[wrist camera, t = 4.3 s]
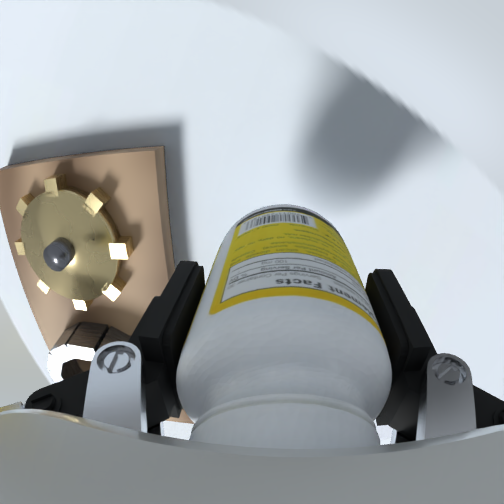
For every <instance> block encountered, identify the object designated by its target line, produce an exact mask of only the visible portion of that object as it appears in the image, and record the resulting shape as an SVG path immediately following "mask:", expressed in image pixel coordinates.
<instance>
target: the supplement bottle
mask: <svg viewBox="0 0 504 504" xmlns="http://www.w3.org/2000/svg"><path fill="white" fill-rule="evenodd" d="M391 383H392V369H391V362H390V358H389V354H388V351H387V347H386V344H385V341H384V338H383V335H382V333H381V330H380V327H379V325H378V322H377V319H376V317H375V314H374V311H373V309H372V306H371V304H370V301H369V299H368V296H367V294H366V291H365V289H364V286H363V284H362V281H361V279H360V276H359V274H358V272H357V269H356V267H355V265H354V262H353V260H352V258H351V255H350V253H349V251H348V249H347V247H346V245H345V243H344V241H343V239H342V237H341V235H340V234H339V232H338V231H337V230H336V228H335V227H334V226H333V225H332V224H331V223H330V222H329V221H328V220H326V219H325V218H324V217H322V216H321V215H319V214H318V213H316V212H314V211H312V210H310V209H307V208H304V207H300V206H295V205H287V204H284V205H271V206H267V207H263V208H260V209H257V210H255V211H252V212H251V213H249V214H247V215H245V216H244V217H242V218H241V219H240V220H239V221H237V222H236V223H235V224H234V225H233V227H232V228H231V229H230V230H229V231H228V233H227V234H226V236H225V238H224V240H223V242H222V244H221V246H220V248H219V250H218V253H217V255H216V258H215V261H214V263H213V266H212V269H211V271H210V274H209V277H208V280H207V282H206V285H205V288H204V290H203V293H202V296H201V299H200V302H199V304H198V307H197V310H196V313H195V315H194V318H193V321H192V324H191V326H190V329H189V332H188V334H187V337H186V340H185V343H184V345H183V348H182V351H181V355H180V359H179V363H178V367H177V373H176V387H177V393H178V396H179V399H180V402H181V405H182V407H183V409H184V410H185V412H186V414H187V415H188V416H189V418H190V419H191V420H192V421H193V422H194V426H193V428H192V432H191V436H190V439H189V440H190V441H197V442H205V443H213V444H222V445H232V446H243V447H257V448H278V449H331V448H351V447H366V446H377V445H380V438H379V436H378V433H377V431H376V427H375V424H374V422H373V421H374V420H375V419H376V417H377V416H378V415H379V414H380V412H381V410H382V409H383V407H384V405H385V403H386V401H387V398H388V396H389V393H390V389H391Z"/></svg>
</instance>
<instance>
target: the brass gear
mask: <svg viewBox="0 0 504 504" xmlns="http://www.w3.org/2000/svg"><path fill="white" fill-rule="evenodd" d="M44 185H45V191H46V192H44V193H42V194H40V195H39V196H37V197H34V196H33V195H32V194H31V193H29V194H27V195H25V196H23V197H21V198H20V200H19V202H18V204H17V207H16V210H17V211H18V212H19V213H20V214H21V215H22V216H23V218H22V223H21V238H20V239H18V240H17V241H16V242H15V245H16V249H17V252H18V255H26V257H27V260H28V262H29V264H30V266H31V267H32V269H33V270H34V272H35V273H36V275H37V276H38V277H39V278H40V280H39V282H38V284H37V286H38V287H39V288H40V289H41V290H42V291H43V292H45V293H46V294H47V293H48V292H49V291H50V290H51V289H52V290H53V291H54V292H56V293H58V294H60V295H61V296H64V297H66V298H69V299H72V300H73V303H74V306H75V309H80V310H87V309H88V308H89V307H90V305H91V304H92V302H93V299H95V298H97V297H99V296H101V295H102V294H105V295H107V296H108V297H109V298H110V299H111V300H113V301H114V300H115V299H116V298H117V296H118V295H119V294H120V293H121V291H122V290H123V288H124V287H125V285H126V284H127V283H125V282H124V281H123V280H122V279H121V278H119V277H118V273H119V271H120V269H121V265H122V259H128V258H129V257H130V256H131V254H132V253H133V252H134V246H133V240H132V236H120V234H119V231H118V228H117V226H116V224H115V222H114V220H113V218H112V217H111V215H110V214H109V212H108V211H107V210H106V208H105V206H106V204H107V203H108V202H109V200H110V199H111V197H110V196H109V195H108V194H107V193H106V192H105V191H104V190H103V189H102V188H101V187H99V188H97V189H95V190H94V191H92V192H91V193H90V194H89V193H87V192H85V191H83V190H81V189H78V188H75V187H70V186H67V181H66V174H56V175H52V176H50V177H48V178H46V179H44Z"/></svg>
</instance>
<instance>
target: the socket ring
mask: <svg viewBox="0 0 504 504" xmlns="http://www.w3.org/2000/svg"><path fill="white" fill-rule="evenodd" d="M130 337H131V336H130V335H128V334H126V333H124V332H122V331H120V330H118V329H117V328H115V327H113V326H111V327H110V329H109V327H108V324H100V323H92V322H85V321H82V323H81V322H78V323H76V324H74V325H73V326H71V327H69V328H67V329H65V330H64V332H63V333H62V334H61V336H60V337H59V339H58V340H57V342H56V343H55V345H54V346H53V348H52V349H51V351H50V352H49V355H48V366H47V368H48V369H49V370H48V372H49V373H50V375H51V377H52V379H53V381H54V382H55V383H57V382H59V381H62V380H65V379H67V378H70V377H72V376H75V375H77V374H80V373H82V372H84V371H83V370H82V369H81V368H80V366H79V364H78V362H77V360H76V358H78V359H83V360H88V361H92V358H93V355H94V354H95V352H96V351H97V350H98V349H99V348H101V347H102V346H104V345H106V344H109V343H111V342H117V341H123V342H128V341H129V339H130Z"/></svg>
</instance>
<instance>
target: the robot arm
mask: <svg viewBox="0 0 504 504" xmlns="http://www.w3.org/2000/svg"><path fill="white" fill-rule="evenodd" d="M204 288H205V279H204V268H203V266H198V263H197V262H194V261H180V263H179V264H178V266H177V268H176V269H175V271H174V273H173V275H172V276H171V278H170V280H169V282H168V283H167V285H166V287H165V289H164V290H163V292H162V294H161V296H155V297H154V298H153V299H152V301H151V302H150V304H149V306H148V308H147V309H146V311H145V313H144V314H143V316H142V318H141V320H140V321H139V323H138V325H137V327H136V328H135V330H134V332H133V334H132V335H131V337H130V339H129V341H128V342H123V341H117V342H111V343H109V344H106V345H104V346H102V347H101V348H99V349H98V350H97V351H96V352H95V354H94V355H93V358H92V361H91V366H90V370H87V371H85V372H82V373H80V374H77V375H75V376H72V377H70V378H67V379H65V380H62V381H59V382H57V383H54V384H52V385H49V386H47V387H44V388H41V389H39V390H37V391H35V392H34V393H33V394H32V395H30V396H29V398H28V399H27V401H26V404H25V405H23V404H22V402H17V403H14V404H11V405H8V406H4V407H0V504H504V401H502V400H500V399H498V398H496V397H495V396H493V395H491V394H489V393H487V392H485V391H483V390H482V389H480V388H478V387H476V386H474V385H473V384H472V376H471V372H470V368H469V367H468V365H467V364H466V363H465V362H464V361H463V360H462V359H461V358H459V357H457V356H455V355H451V354H446V353H441V354H437V353H436V351H435V348H434V346H433V344H432V342H431V340H430V338H429V336H428V334H427V332H426V330H425V328H424V326H423V324H422V322H421V320H420V318H419V317H418V315H417V313H416V311H415V309H414V308H413V307H412V306H411V305H410V303H409V301H408V299H407V297H406V295H405V293H404V292H403V290H402V288H401V286H400V284H399V283H398V281H397V279H396V277H395V275H394V274H393V272H392V270H390V269H375V270H374V272H373V273H369V275H368V278H367V283H366V288H365V291H366V294H367V296H368V299H369V301H370V304H371V306H372V309H373V311H374V314H375V317H376V319H377V322H378V325H379V327H380V330H381V333H382V335H383V338H384V341H385V344H386V347H387V351H388V354H389V358H390V362H391V369H392V383H391V389H390V393H389V396H388V398H387V401H386V403H385V405H384V407H383V409H382V410H381V412H380V414H379V415H378V416H377V417H376V422H377V426H379V425H389V426H390V427H392V428H393V431H392V437H391V443H390V444H387V445H377V446H366V447H351V448H331V449H278V448H257V447H243V446H232V445H222V444H213V443H205V442H197V441H190V440H184V439H177V438H171V437H166V436H164V428H163V421H165V420H167V419H169V418H170V417H174V418H179V417H180V414H181V410H182V409H183V407H182V405H181V402H180V399H179V396H178V393H177V387H176V373H177V367H178V363H179V359H180V355H181V351H182V348H183V345H184V343H185V340H186V337H187V334H188V332H189V329H190V326H191V324H192V321H193V318H194V315H195V313H196V310H197V307H198V304H199V302H200V299H201V296H202V293H203V290H204ZM183 410H184V409H183Z"/></svg>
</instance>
